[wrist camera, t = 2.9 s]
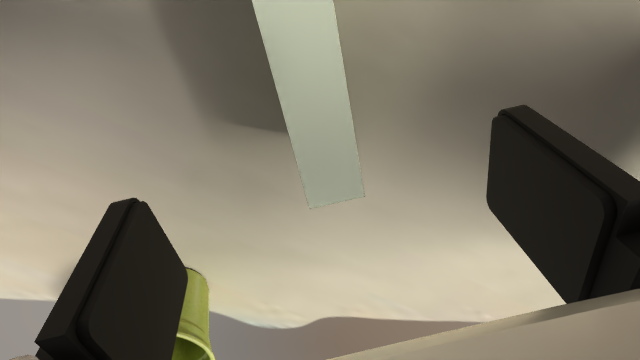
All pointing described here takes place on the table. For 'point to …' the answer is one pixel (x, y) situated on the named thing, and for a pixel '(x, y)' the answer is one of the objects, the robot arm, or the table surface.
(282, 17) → the door panel
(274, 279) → the table surface
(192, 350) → the plant pot
